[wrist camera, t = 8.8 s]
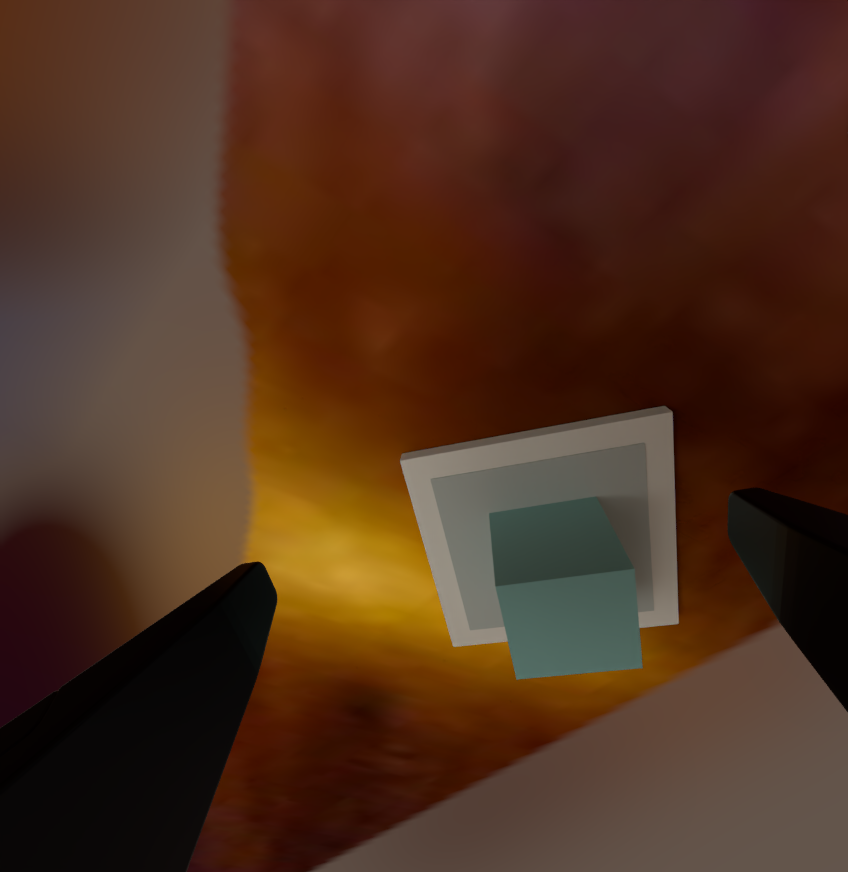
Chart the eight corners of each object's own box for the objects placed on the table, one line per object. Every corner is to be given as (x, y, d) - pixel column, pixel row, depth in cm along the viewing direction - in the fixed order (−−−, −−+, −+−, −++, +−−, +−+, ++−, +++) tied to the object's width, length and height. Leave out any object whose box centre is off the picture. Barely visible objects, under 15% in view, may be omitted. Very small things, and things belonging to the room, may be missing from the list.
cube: (596, 496, 20) (634, 568, 16) (605, 580, 22) (642, 667, 17) (488, 513, 21) (495, 586, 16) (506, 593, 23) (516, 679, 18)
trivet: (664, 405, 19) (673, 412, 18) (671, 612, 23) (679, 625, 23) (402, 453, 21) (399, 461, 20) (453, 635, 26) (453, 648, 25)
